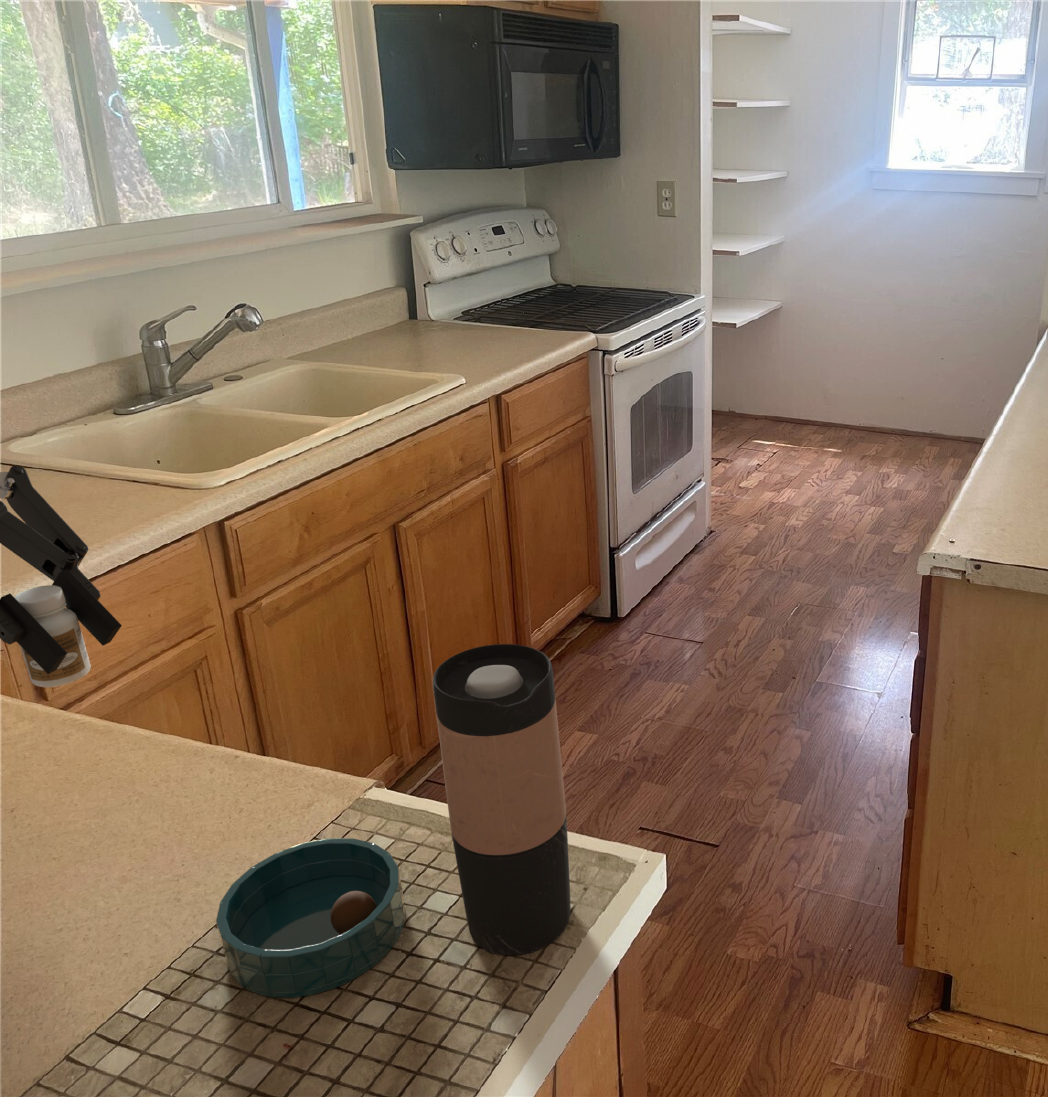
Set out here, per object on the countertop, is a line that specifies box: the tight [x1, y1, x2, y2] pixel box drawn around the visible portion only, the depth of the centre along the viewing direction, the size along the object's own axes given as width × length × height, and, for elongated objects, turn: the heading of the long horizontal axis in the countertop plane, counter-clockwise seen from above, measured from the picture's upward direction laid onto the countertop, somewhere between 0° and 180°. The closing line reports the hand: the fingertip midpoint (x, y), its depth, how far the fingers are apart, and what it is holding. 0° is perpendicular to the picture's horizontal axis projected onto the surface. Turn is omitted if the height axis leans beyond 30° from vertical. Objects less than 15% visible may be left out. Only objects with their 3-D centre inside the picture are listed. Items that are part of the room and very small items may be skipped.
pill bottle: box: [13, 584, 92, 688], centre depth 86 cm, size 4×4×8 cm
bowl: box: [215, 837, 406, 999], centre depth 71 cm, size 12×12×4 cm
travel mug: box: [432, 643, 571, 956], centre depth 69 cm, size 8×8×20 cm
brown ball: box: [331, 891, 377, 934], centre depth 70 cm, size 3×3×3 cm
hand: (85, 648), depth 85 cm, fingers closed on pill bottle, 4 cm apart
